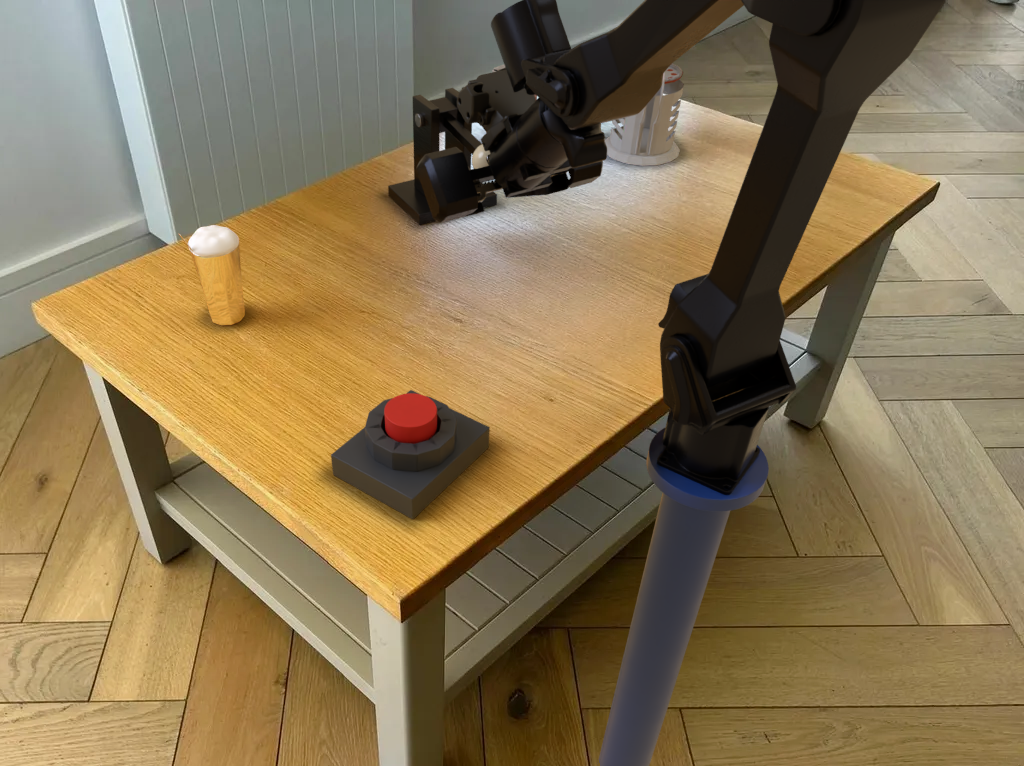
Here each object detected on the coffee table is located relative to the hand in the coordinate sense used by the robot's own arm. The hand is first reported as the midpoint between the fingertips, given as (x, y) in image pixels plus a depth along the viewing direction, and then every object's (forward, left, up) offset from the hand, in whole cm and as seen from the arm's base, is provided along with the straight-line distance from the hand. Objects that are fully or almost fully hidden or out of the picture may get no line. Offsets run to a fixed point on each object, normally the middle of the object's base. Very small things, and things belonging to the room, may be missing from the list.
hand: (480, 199), depth 96 cm
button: (-17, +33, 0) cm, 37 cm away
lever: (+3, -2, +4) cm, 5 cm away
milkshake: (+10, +28, -4) cm, 30 cm away
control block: (-17, +33, -4) cm, 37 cm away
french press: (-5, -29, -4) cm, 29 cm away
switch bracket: (+8, -4, -4) cm, 9 cm away
